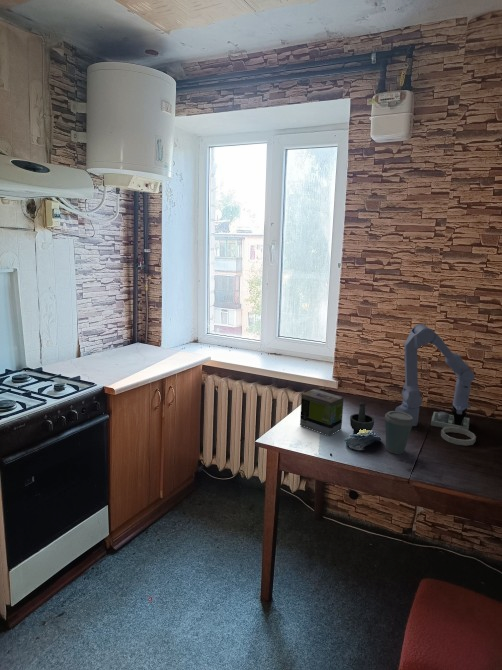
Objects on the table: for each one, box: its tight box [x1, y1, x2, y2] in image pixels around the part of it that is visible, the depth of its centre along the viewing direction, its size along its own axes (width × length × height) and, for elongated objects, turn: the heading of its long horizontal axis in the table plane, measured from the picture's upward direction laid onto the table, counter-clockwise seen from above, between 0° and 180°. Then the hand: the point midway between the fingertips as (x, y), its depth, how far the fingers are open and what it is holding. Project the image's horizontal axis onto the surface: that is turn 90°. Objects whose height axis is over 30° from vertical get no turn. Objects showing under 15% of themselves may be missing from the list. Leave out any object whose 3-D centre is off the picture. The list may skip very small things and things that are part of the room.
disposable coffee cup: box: [384, 410, 414, 455], centre depth 168 cm, size 11×11×15 cm
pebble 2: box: [452, 414, 464, 426], centre depth 192 cm, size 4×4×4 cm
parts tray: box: [430, 411, 470, 431], centre depth 193 cm, size 15×12×3 cm
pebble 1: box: [437, 411, 450, 423], centre depth 194 cm, size 4×4×4 cm
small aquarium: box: [299, 388, 344, 437], centre depth 187 cm, size 15×10×15 cm, turn 48°
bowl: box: [440, 427, 477, 447], centre depth 180 cm, size 12×12×3 cm
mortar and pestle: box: [349, 402, 375, 435], centre depth 183 cm, size 11×9×12 cm
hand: (457, 424), depth 192 cm, fingers closed on pebble 2, 4 cm apart
